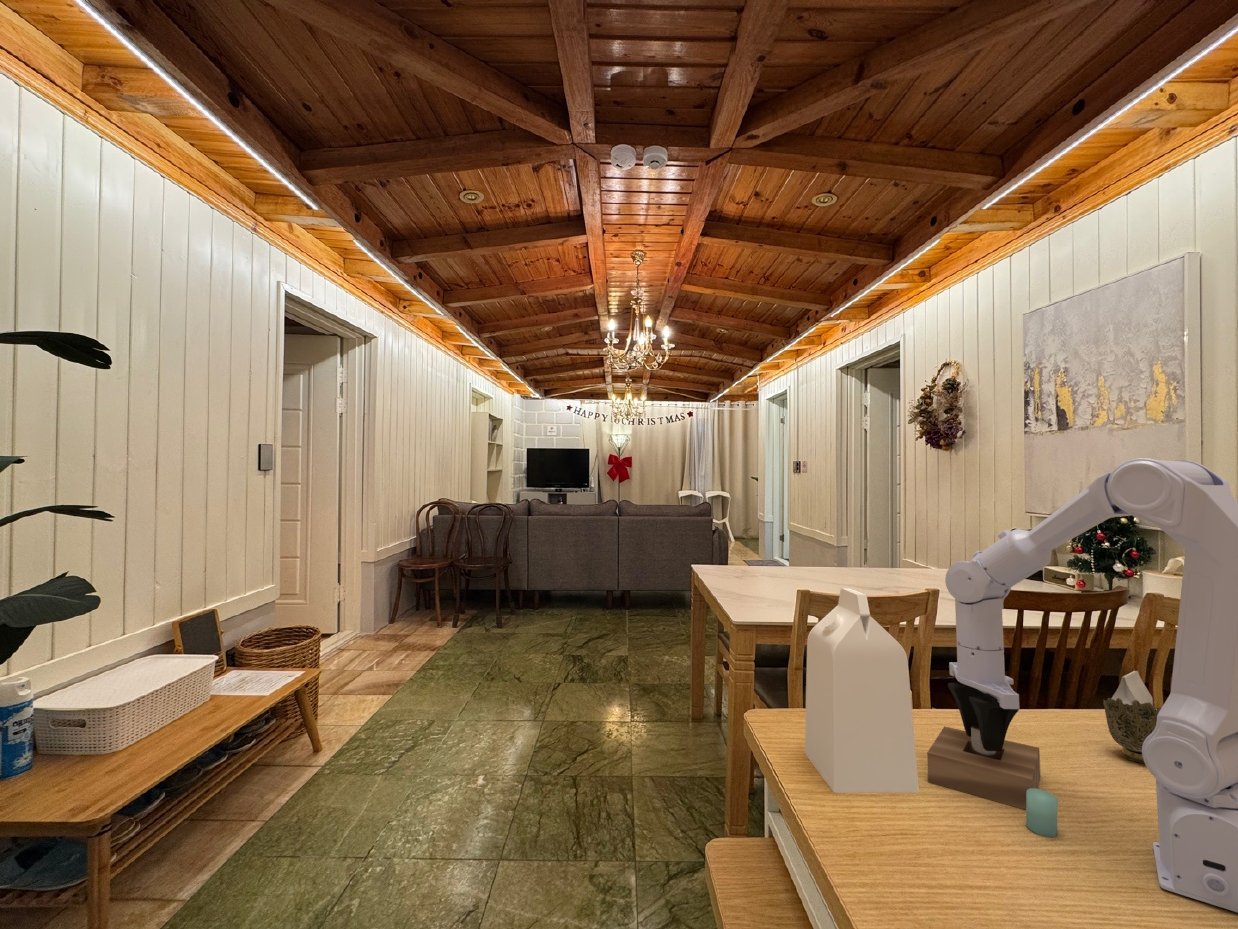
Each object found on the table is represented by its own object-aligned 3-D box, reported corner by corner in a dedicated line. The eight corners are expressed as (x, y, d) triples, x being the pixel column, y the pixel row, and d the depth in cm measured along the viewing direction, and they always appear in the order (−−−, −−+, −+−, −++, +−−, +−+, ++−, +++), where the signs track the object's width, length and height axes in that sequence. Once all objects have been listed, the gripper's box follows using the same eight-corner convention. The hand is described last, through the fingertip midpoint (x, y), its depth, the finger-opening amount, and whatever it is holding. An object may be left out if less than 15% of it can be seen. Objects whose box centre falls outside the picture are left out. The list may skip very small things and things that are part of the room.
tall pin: (1002, 785, 79) (1000, 733, 79) (979, 784, 79) (977, 733, 79) (990, 775, 82) (988, 725, 82) (968, 774, 82) (966, 724, 82)
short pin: (1062, 838, 66) (1063, 805, 66) (1033, 835, 67) (1033, 801, 67) (1049, 822, 69) (1049, 790, 69) (1021, 818, 70) (1021, 787, 70)
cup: (1113, 764, 85) (1110, 709, 85) (1099, 745, 91) (1097, 694, 92) (1180, 775, 81) (1177, 718, 82) (1161, 755, 88) (1158, 702, 88)
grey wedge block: (1154, 733, 96) (1151, 673, 96) (1141, 743, 92) (1138, 680, 93) (1126, 726, 99) (1123, 668, 100) (1112, 735, 95) (1109, 674, 96)
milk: (919, 792, 77) (912, 598, 78) (834, 793, 77) (829, 598, 78) (878, 753, 89) (873, 585, 90) (804, 753, 89) (801, 585, 90)
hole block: (1033, 812, 72) (1032, 779, 72) (928, 782, 80) (927, 752, 80) (1040, 776, 81) (1039, 747, 81) (945, 752, 89) (944, 726, 89)
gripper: (1042, 660, 74) (1047, 768, 73) (981, 634, 88) (985, 723, 88) (985, 659, 75) (989, 765, 74) (934, 633, 89) (937, 722, 88)
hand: (983, 743), depth 81 cm, fingers open, 4 cm apart
